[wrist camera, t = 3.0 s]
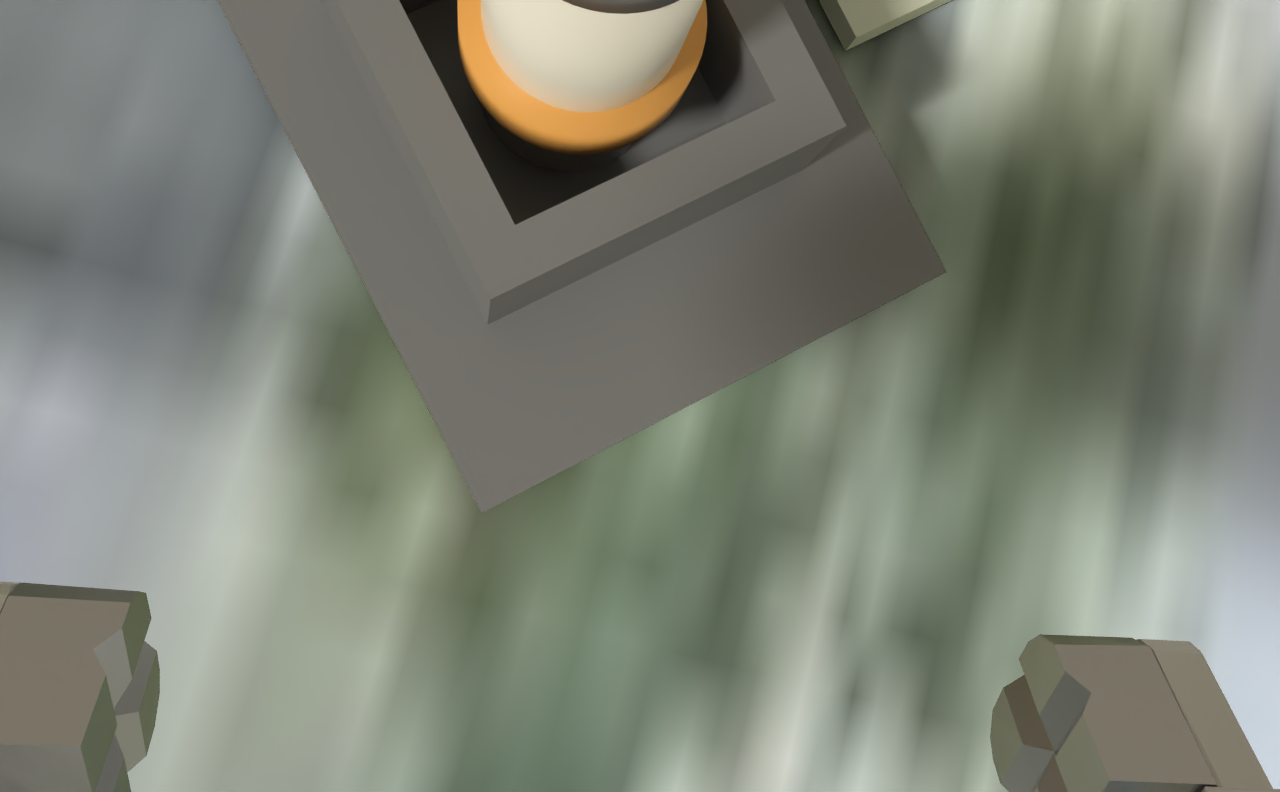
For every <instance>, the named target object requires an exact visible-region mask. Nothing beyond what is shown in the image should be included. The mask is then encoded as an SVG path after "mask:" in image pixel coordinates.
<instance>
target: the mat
mask: <svg viewBox="0 0 1280 792" xmlns="http://www.w3.org/2000/svg"><path fill="white" fill-rule="evenodd" d="M949 1H952V0H819V2H820V3H821V5H822V7H823V9H824V11H825V13H826V15H827V17H828V19H829V21H830V23H831V25H832V26H833V28H834V30H835V32H836V34H837V36H838V38H839V40H840V42H841V44H842V46H843V47H844V49H845V51H846V50H848V49H850V48H852V47H855V46H857V45H859V44H861V43H863V42H865V41H867V40H869V39H871V38H874V37H876V36H878V35H880V34H882V33H884V32H886V31H888V30H890V29H893V28H895V27H897V26H899V25H901V24H903V23H905V22H907V21H909V20H911V19H914V18H916V17H918V16H920V15H922V14H924V13H926V12H928V11H930V10H933V9H935V8H937V7H939V6H941V5H943V4H945V3H947V2H949Z"/></svg>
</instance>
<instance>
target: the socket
mask: <svg viewBox="0 0 1280 792" xmlns="http://www.w3.org/2000/svg"><path fill="white" fill-rule="evenodd" d="M705 1H706V7H707V32H706V41H705V45H704V49H703V53H702V56H701V59H700V61H699V64H698V66H697V69H696V71H695V73H694V75H693V77H692V79H691V80H690V82H689V84H688V86H687V88H686V90H685V92H684V94H683V96H682V97H681V99H680V101H679V103H678V104H677V106H676V107H675V109H674V110H673V111H672V112H671V114H670V115H669V116H668V117H667V118H666V119H665V120H664V121H663V122H662V123H661V124H660V125H659V126H658V127H657V128H656V129H655V130H653V131H652V132H651V133H649V134H648V135H647V136H645V137H644V138H642V139H640V140H638V141H636V142H635V143H633V144H632V145H631V146H630V147H629V148H628V149H627V150H626V151H625V152H624V153H623V154H621V155H620V156H619V157H617V158H616V159H614V160H613V161H611V162H609V163H607V164H605V165H602V166H600V167H597V168H594V169H590V170H586V171H578V172H560V171H553V170H549V169H545V168H541V167H538V166H536V165H534V164H531V163H529V162H527V161H525V160H524V159H522V158H520V157H519V156H517V155H516V154H515V153H513V152H512V151H511V150H509V149H508V148H507V147H506V146H505V145H504V144H503V143H502V142H501V141H500V139H499V138H498V137H497V136H496V134H495V133H494V131H493V130H492V128H491V127H490V125H489V123H488V121H487V119H486V117H485V114H484V112H483V108H482V105H481V102H480V101H479V100H478V98H477V96H476V95H475V93H474V91H473V90H472V88H471V86H470V84H469V81H468V79H467V77H466V75H465V72H464V69H463V65H462V62H461V58H460V52H459V45H458V3H457V0H218V2H219V4H220V5H221V7H222V9H223V11H224V13H225V15H226V17H227V19H228V21H229V23H230V25H231V27H232V29H233V31H234V33H235V35H236V37H237V39H238V41H239V42H240V44H241V46H242V48H243V50H244V52H245V54H246V56H247V58H248V60H249V62H250V64H251V66H252V68H253V70H254V72H255V74H256V76H257V78H258V79H259V81H260V83H261V85H262V87H263V89H264V91H265V93H266V95H267V97H268V99H269V101H270V103H271V105H272V107H273V109H274V111H275V113H276V115H277V116H278V118H279V120H280V122H281V124H282V126H283V128H284V130H285V132H286V134H287V136H288V138H289V140H290V142H291V144H292V146H293V148H294V150H295V152H296V153H297V155H298V157H299V159H300V161H301V163H302V165H303V167H304V169H305V171H306V173H307V175H308V177H309V179H310V181H311V183H312V185H313V187H314V189H315V190H316V192H317V194H318V196H319V198H320V200H321V202H322V204H323V206H324V208H325V210H326V212H327V214H328V216H329V218H330V220H331V222H332V224H333V225H334V227H335V229H336V231H337V233H338V235H339V237H340V239H341V241H342V243H343V245H344V247H345V249H346V251H347V253H348V255H349V257H350V259H351V261H352V262H353V264H354V266H355V268H356V270H357V272H358V274H359V276H360V278H361V280H362V282H363V284H364V286H365V288H366V290H367V292H368V294H369V296H370V298H371V299H372V301H373V303H374V305H375V307H376V309H377V311H378V313H379V315H380V317H381V319H382V321H383V323H384V325H385V327H386V329H387V331H388V333H389V335H390V336H391V338H392V340H393V342H394V344H395V346H396V348H397V350H398V352H399V354H400V356H401V358H402V360H403V362H404V364H405V366H406V368H407V370H408V372H409V373H410V375H411V377H412V379H413V381H414V383H415V385H416V387H417V389H418V391H419V393H420V395H421V397H422V399H423V401H424V403H425V405H426V407H427V409H428V410H429V412H430V414H431V416H432V418H433V420H434V422H435V424H436V426H437V428H438V430H439V432H440V434H441V436H442V438H443V440H444V442H445V444H446V446H447V447H448V449H449V451H450V453H451V455H452V457H453V459H454V461H455V463H456V465H457V467H458V469H459V471H460V473H461V475H462V477H463V479H464V481H465V483H466V484H467V486H468V488H469V490H470V492H471V494H472V496H473V498H474V500H475V502H476V504H477V506H478V508H479V510H480V512H481V513H483V512H485V511H487V510H489V509H491V508H493V507H494V506H496V505H498V504H500V503H502V502H504V501H506V500H508V499H510V498H512V497H514V496H516V495H518V494H520V493H521V492H523V491H525V490H527V489H529V488H531V487H533V486H535V485H537V484H539V483H541V482H543V481H545V480H547V479H548V478H550V477H552V476H554V475H556V474H558V473H560V472H562V471H564V470H566V469H568V468H570V467H572V466H573V465H575V464H577V463H579V462H581V461H583V460H585V459H587V458H589V457H591V456H593V455H595V454H597V453H599V452H600V451H602V450H604V449H606V448H608V447H610V446H612V445H614V444H616V443H618V442H620V441H622V440H624V439H626V438H627V437H629V436H631V435H633V434H635V433H637V432H639V431H641V430H643V429H645V428H647V427H649V426H651V425H653V424H654V423H656V422H658V421H660V420H662V419H664V418H666V417H668V416H670V415H672V414H674V413H676V412H678V411H679V410H681V409H683V408H685V407H687V406H689V405H691V404H693V403H695V402H697V401H699V400H701V399H703V398H705V397H706V396H708V395H710V394H712V393H714V392H716V391H718V390H720V389H722V388H724V387H726V386H728V385H730V384H732V383H733V382H735V381H737V380H739V379H741V378H743V377H745V376H747V375H749V374H751V373H753V372H755V371H757V370H759V369H760V368H762V367H764V366H766V365H768V364H770V363H772V362H774V361H776V360H778V359H780V358H782V357H784V356H785V355H787V354H789V353H791V352H793V351H795V350H797V349H799V348H801V347H803V346H805V345H807V344H809V343H811V342H812V341H814V340H816V339H818V338H820V337H822V336H824V335H826V334H828V333H830V332H832V331H834V330H836V329H838V328H839V327H841V326H843V325H845V324H847V323H849V322H851V321H853V320H855V319H857V318H859V317H861V316H863V315H864V314H866V313H868V312H870V311H872V310H874V309H876V308H878V307H880V306H882V305H884V304H886V303H888V302H890V301H891V300H893V299H895V298H897V297H899V296H901V295H903V294H905V293H907V292H909V291H911V290H913V289H915V288H917V287H918V286H920V285H922V284H924V283H926V282H928V281H930V280H932V279H934V278H936V277H938V276H940V275H942V274H944V273H945V272H946V270H945V268H944V266H943V264H942V262H941V261H940V259H939V257H938V255H937V253H936V251H935V249H934V247H933V245H932V243H931V241H930V240H929V238H928V236H927V234H926V232H925V230H924V228H923V226H922V224H921V222H920V220H919V218H918V217H917V215H916V213H915V211H914V209H913V207H912V205H911V203H910V201H909V199H908V197H907V195H906V194H905V192H904V190H903V188H902V186H901V184H900V182H899V180H898V178H897V176H896V174H895V173H894V171H893V169H892V167H891V165H890V163H889V161H888V159H887V157H886V155H885V153H884V151H883V150H882V148H881V146H880V144H879V142H878V140H877V138H876V136H875V134H874V132H873V130H872V129H871V127H870V125H869V123H868V121H867V119H866V117H865V115H864V113H863V111H862V109H861V107H860V106H859V104H858V102H857V100H856V98H855V96H854V94H853V92H852V90H851V88H850V86H849V85H848V83H847V81H846V79H845V77H844V75H843V73H842V71H841V69H840V67H839V65H838V63H837V62H836V60H835V58H834V56H833V54H832V52H831V50H830V48H829V46H828V44H827V42H826V41H825V39H824V37H823V35H822V33H821V31H820V29H819V27H818V25H817V23H816V21H815V19H814V18H813V16H812V14H811V12H810V10H809V8H808V6H807V4H806V2H805V0H705Z"/></svg>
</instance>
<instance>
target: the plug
mask: <svg viewBox="0 0 1280 792" xmlns="http://www.w3.org/2000/svg"><path fill="white" fill-rule="evenodd" d="M457 3H458V45H459V52H460V58H461V62H462V65H463V69H464V72H465V75H466V77H467V79H468V81H469V84H470V86H471V88H472V90H473V91H474V93H475V95H476V96H477V98H478V100H479V101H480V102H481V105H482V108H483V112H484V114H485V117H486V119H487V121H488V123H489V125H490V127H491V128H492V130H493V131H494V133H495V134H496V136H497V137H498V138H499V139H500V141H501V142H502V143H503V144H504V145H505V146H506V147H507V148H508V149H509V150H511V151H512V152H513V153H515V154H516V155H517V156H519V157H520V158H522V159H524V160H525V161H527V162H529V163H531V164H534V165H536V166H538V167H541V168H545V169H549V170H553V171H560V172H578V171H586V170H590V169H594V168H597V167H600V166H602V165H605V164H607V163H609V162H611V161H613V160H614V159H616V158H617V157H619V156H620V155H621V154H623V153H624V152H625V151H626V150H627V149H628V148H629V147H630V146H631V145H632V144H633V143H635V142H636V141H638V140H640V139H642V138H644V137H645V136H647V135H648V134H649V133H651V132H652V131H653V130H655V129H656V128H657V127H658V126H659V125H660V124H661V123H662V122H663V121H664V120H665V119H666V118H667V117H668V116H669V115H670V114H671V112H672V111H673V110H674V109H675V107H676V106H677V104H678V103H679V101H680V99H681V97H682V96H683V94H684V92H685V90H686V88H687V86H688V84H689V82H690V80H691V79H692V77H693V75H694V73H695V71H696V69H697V66H698V64H699V61H700V59H701V56H702V53H703V49H704V45H705V41H706V32H707V7H706V1H705V0H457Z"/></svg>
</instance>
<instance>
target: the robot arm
mask: <svg viewBox="0 0 1280 792" xmlns="http://www.w3.org/2000/svg"><path fill="white" fill-rule="evenodd" d="M150 621H151V614H150V609H149V605H148V600H147V595H146V593H144V592H139V591H125V590H112V589H99V588H85V587H72V586H58V585H45V584H31V583H13V582H0V792H131V789H130V784H129V779H128V774H127V772H128V771H129V770H131V769H132V768H133V767H134V766H135V765H136V764H138V763H139V762H140V761H141V760H142V759H143V758H144V757H146V756H147V752H148V748H149V745H150V741H151V738H152V734H153V730H154V727H155V720H156V714H157V707H158V700H159V694H160V669H159V662H158V655H157V651H156V650H155V649H154V648H153V647H151V646H150V645H149V644H148V643H147V642H145V641H144V640H145V637H146V633H147V630H148V627H149V624H150ZM1019 661H1020V663H1021V666H1022V669H1023V672H1024V674H1025V675H1023V676H1022V677H1020V678H1018V679H1017V680H1015V681H1014V682H1012V683H1010V684H1009V685H1007V686H1005V687H1004V688H1003V689H1002V692H1001V694H1000V696H999V698H998V700H997V702H996V704H995V706H994V709H993V713H992V723H991V734H990V740H991V747H992V755H993V761H994V764H995V767H996V770H997V774H998V777H999V780H1000V783H1001V784H1002V785H1003V786H1004V787H1005V788H1006V789H1007V790H1008V791H1009V792H1280V789H1273V788H1272V786H1271V784H1270V782H1269V780H1268V778H1267V776H1266V774H1265V772H1264V771H1263V769H1262V767H1261V765H1260V763H1259V761H1258V759H1257V757H1256V755H1255V753H1254V751H1253V750H1252V748H1251V746H1250V744H1249V742H1248V740H1247V738H1246V736H1245V734H1244V732H1243V731H1242V729H1241V727H1240V725H1239V723H1238V721H1237V719H1236V717H1235V715H1234V713H1233V711H1232V710H1231V708H1230V706H1229V704H1228V702H1227V700H1226V698H1225V696H1224V694H1223V692H1222V691H1221V689H1220V687H1219V685H1218V683H1217V681H1216V679H1215V677H1214V675H1213V673H1212V671H1211V670H1210V668H1209V666H1208V664H1207V662H1206V660H1205V658H1204V656H1203V654H1202V653H1201V651H1200V650H1199V649H1197V648H1196V647H1195V646H1194V645H1193V644H1192V643H1191V642H1187V641H1167V640H1147V639H1138V640H1135V639H1133V638H1123V637H1095V636H1067V635H1038V636H1036V637H1035V638H1033V639H1032V640H1030V641H1029V642H1028V643H1027V645H1026V647H1025V649H1024V650H1023V652H1022V654H1021V656H1020V657H1019Z"/></svg>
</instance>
